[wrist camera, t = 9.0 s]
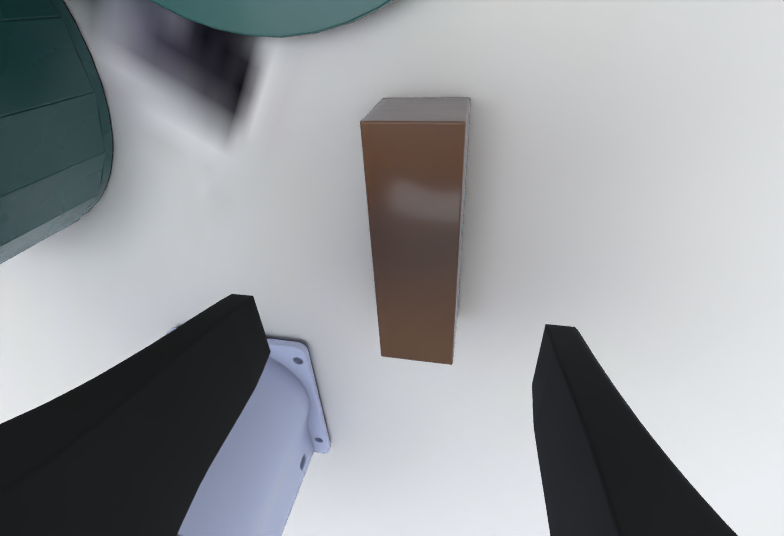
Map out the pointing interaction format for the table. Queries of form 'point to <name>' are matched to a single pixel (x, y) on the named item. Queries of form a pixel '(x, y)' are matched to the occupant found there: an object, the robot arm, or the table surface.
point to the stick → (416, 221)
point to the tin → (47, 124)
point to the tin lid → (273, 14)
